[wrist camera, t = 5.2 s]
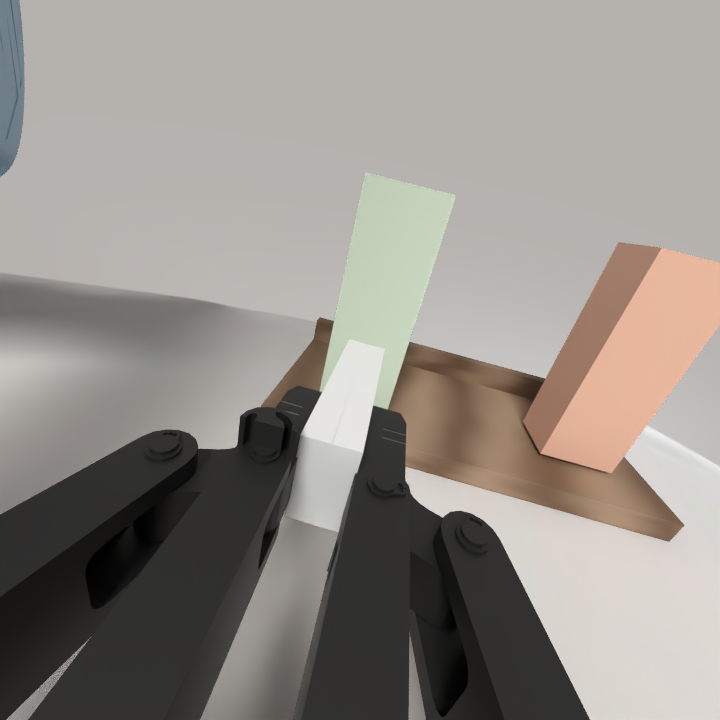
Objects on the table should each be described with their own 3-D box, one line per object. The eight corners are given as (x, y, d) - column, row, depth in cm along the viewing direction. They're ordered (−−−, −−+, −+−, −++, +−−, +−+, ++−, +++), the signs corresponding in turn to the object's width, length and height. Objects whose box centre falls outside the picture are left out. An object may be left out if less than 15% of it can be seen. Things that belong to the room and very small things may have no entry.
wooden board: (258, 424, 22) (264, 378, 20) (317, 344, 36) (323, 313, 34) (669, 541, 21) (706, 502, 20) (567, 413, 35) (584, 384, 33)
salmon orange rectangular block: (540, 453, 23) (661, 247, 17) (521, 419, 27) (616, 241, 21) (611, 473, 23) (758, 272, 17) (582, 436, 27) (694, 262, 21)
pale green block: (319, 391, 24) (365, 172, 18) (332, 367, 28) (373, 179, 22) (387, 410, 24) (456, 195, 18) (390, 383, 27) (448, 199, 22)
